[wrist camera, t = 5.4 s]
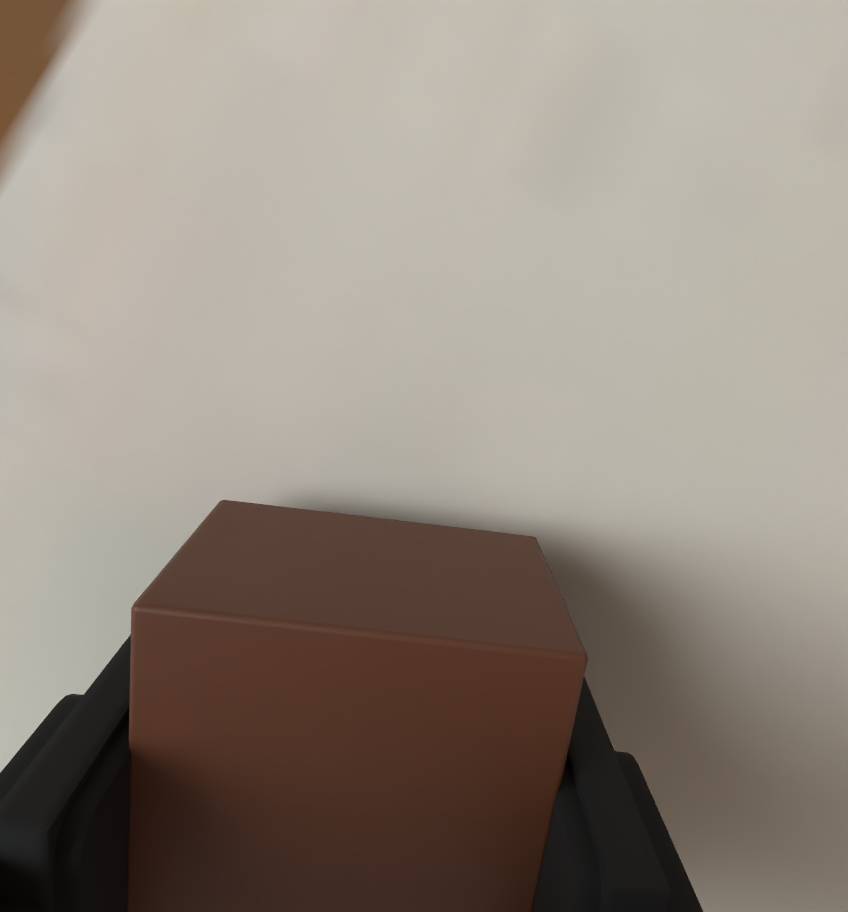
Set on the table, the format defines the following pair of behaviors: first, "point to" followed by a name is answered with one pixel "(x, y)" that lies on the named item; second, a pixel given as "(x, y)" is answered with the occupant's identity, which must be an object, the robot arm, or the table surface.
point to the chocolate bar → (346, 717)
